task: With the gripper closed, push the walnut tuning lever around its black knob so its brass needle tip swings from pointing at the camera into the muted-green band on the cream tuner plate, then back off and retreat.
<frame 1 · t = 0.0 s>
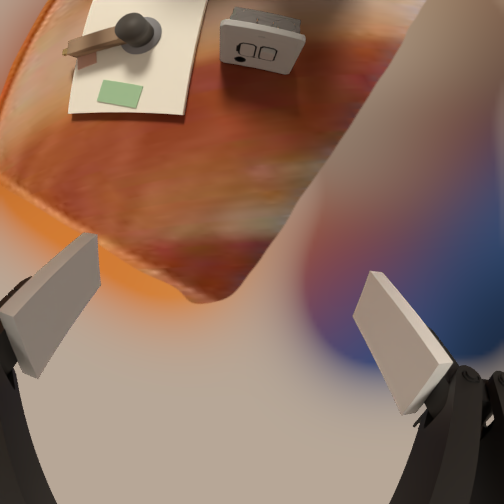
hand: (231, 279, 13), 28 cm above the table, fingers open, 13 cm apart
electrical switch: (256, 51, 32), on the table
tuner plate: (134, 47, 30), on the table
peg: (102, 38, 26), point 4 cm above the table, hinge at 0.0°
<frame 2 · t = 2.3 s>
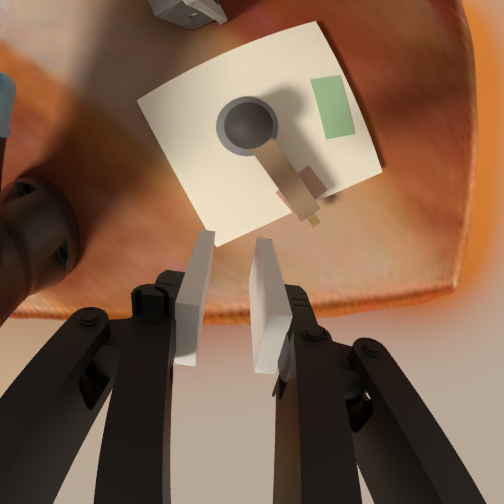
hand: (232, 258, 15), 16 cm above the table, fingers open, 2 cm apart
electrical switch: (190, 4, 21), on the table
tuner plate: (264, 129, 28), on the table
peg: (278, 168, 26), point 4 cm above the table, hinge at 0.0°
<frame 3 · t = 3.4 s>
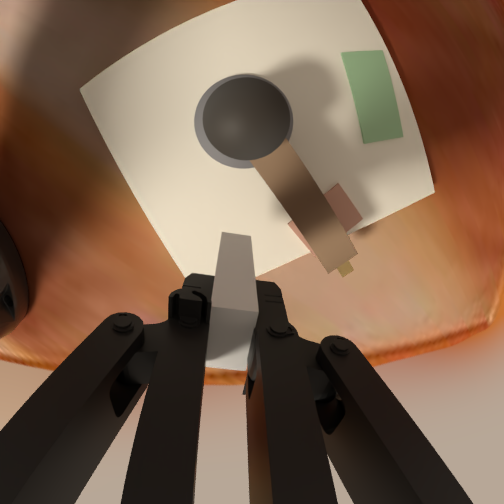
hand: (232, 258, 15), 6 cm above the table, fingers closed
tuner plate: (270, 125, 18), on the table
peg: (295, 190, 16), point 4 cm above the table, hinge at 0.0°
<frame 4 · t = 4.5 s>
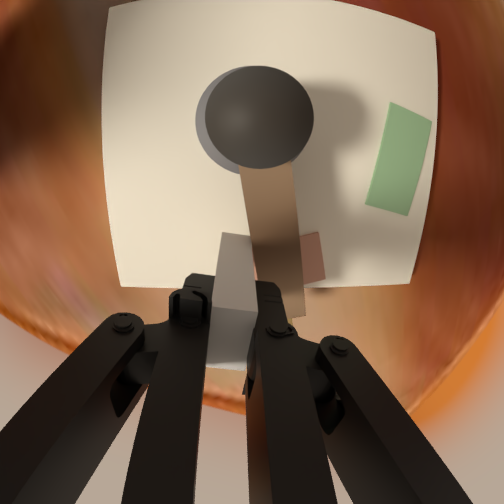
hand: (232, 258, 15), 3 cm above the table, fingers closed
tuner plate: (278, 138, 16), on the table
peg: (271, 220, 14), point 4 cm above the table, hinge at 0.0°, touching gripper
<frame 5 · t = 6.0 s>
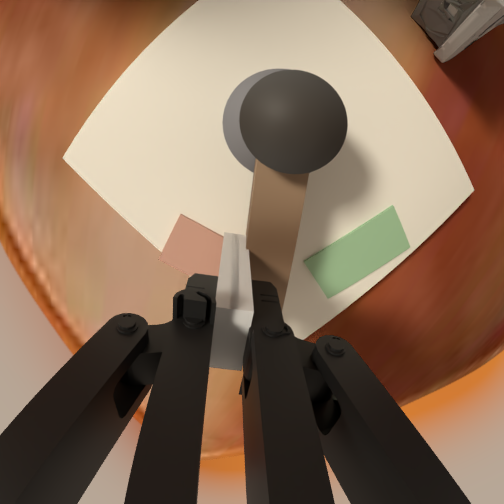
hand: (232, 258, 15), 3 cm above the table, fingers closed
electrical switch: (444, 14, 11), on the table
tuner plate: (284, 154, 16), on the table
peg: (272, 225, 14), point 4 cm above the table, hinge at 28.6°, touching gripper
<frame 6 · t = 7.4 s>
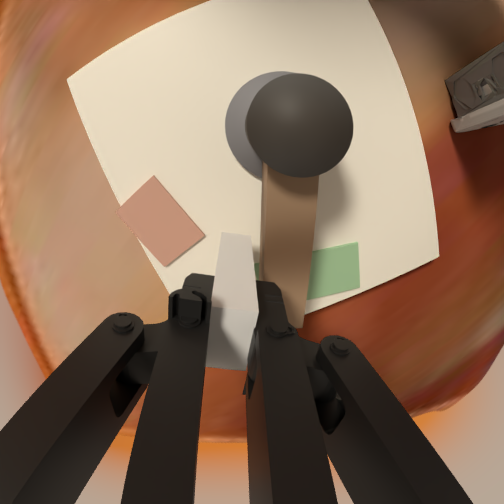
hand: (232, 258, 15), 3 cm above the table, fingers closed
electrical switch: (476, 92, 14), on the table
tuner plate: (273, 156, 16), on the table
peg: (286, 228, 14), point 4 cm above the table, hinge at 56.9°
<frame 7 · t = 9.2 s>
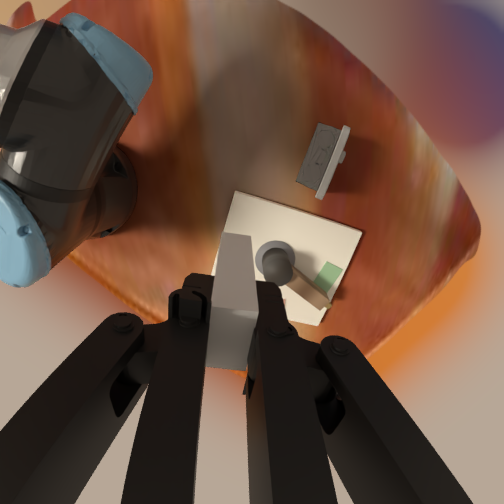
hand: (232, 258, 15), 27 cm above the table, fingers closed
electrical switch: (316, 157, 39), on the table
tuner plate: (281, 264, 45), on the table
peg: (300, 285, 42), point 4 cm above the table, hinge at 57.0°
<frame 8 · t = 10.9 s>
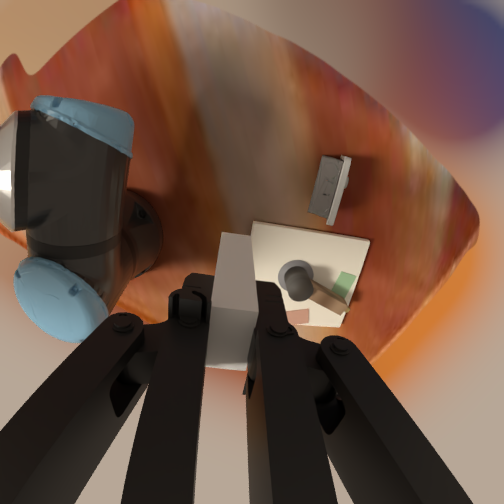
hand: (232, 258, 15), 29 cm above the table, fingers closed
electrical switch: (321, 181, 43), on the table
tuner plate: (301, 278, 50), on the table
peg: (320, 296, 47), point 4 cm above the table, hinge at 57.0°
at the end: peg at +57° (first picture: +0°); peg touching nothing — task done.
